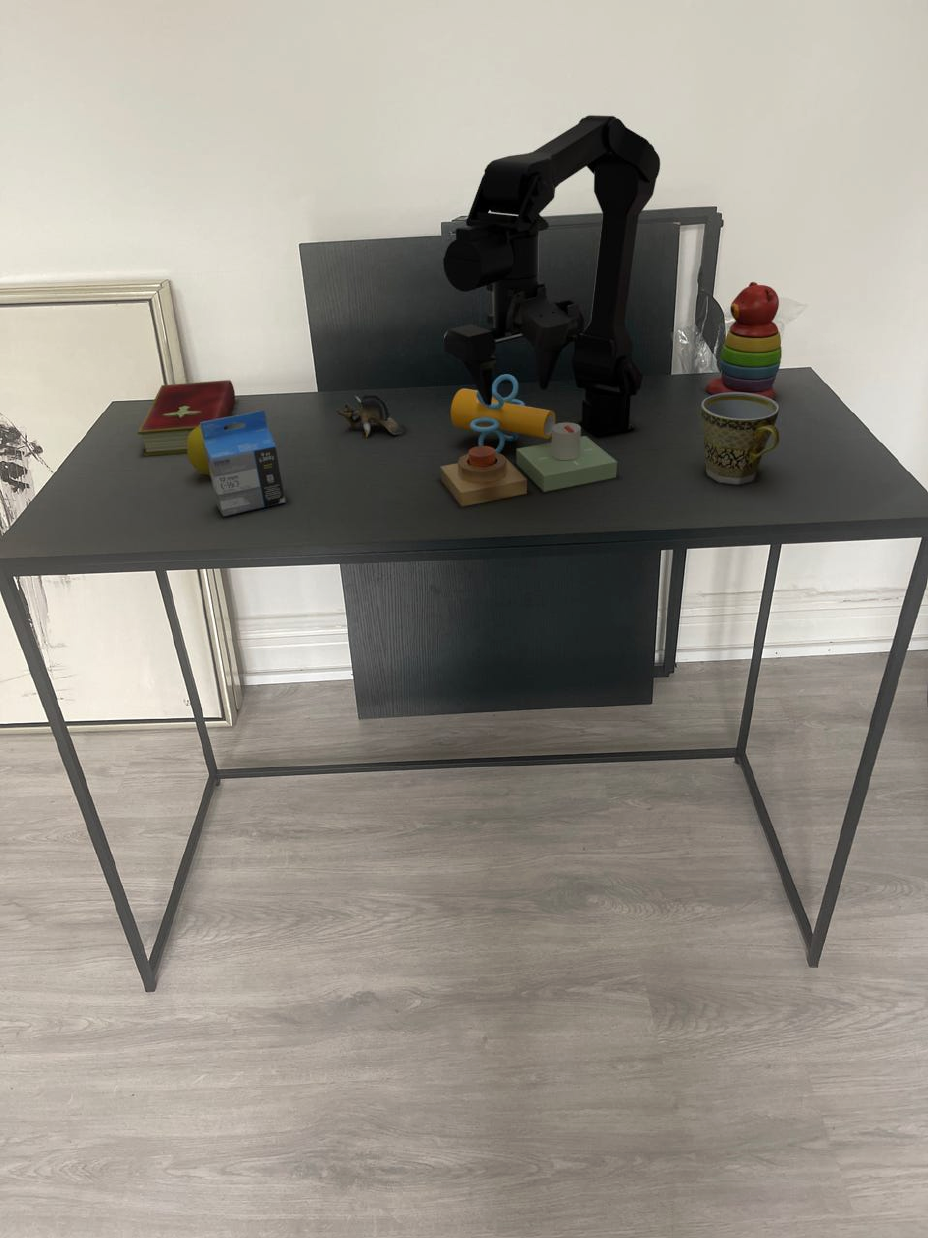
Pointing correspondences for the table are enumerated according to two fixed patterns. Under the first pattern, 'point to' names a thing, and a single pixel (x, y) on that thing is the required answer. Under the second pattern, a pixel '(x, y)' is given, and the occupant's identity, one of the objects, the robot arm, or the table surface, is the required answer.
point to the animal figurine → (371, 414)
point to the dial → (566, 441)
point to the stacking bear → (751, 345)
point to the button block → (482, 481)
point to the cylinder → (500, 415)
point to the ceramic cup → (737, 434)
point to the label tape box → (243, 463)
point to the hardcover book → (183, 414)
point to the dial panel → (566, 465)
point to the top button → (482, 456)
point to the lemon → (197, 451)
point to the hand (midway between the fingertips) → (515, 396)
